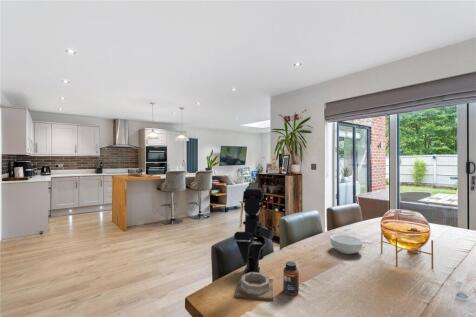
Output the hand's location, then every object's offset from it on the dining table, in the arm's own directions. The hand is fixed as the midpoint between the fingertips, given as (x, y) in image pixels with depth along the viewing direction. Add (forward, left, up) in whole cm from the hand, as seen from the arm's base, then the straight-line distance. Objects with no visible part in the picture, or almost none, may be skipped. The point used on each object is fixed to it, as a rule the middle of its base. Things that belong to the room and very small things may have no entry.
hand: (251, 263), depth 87 cm
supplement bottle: (-8, +15, -14) cm, 22 cm away
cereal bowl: (-55, +50, -14) cm, 76 cm away
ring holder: (-8, +1, -14) cm, 16 cm away
